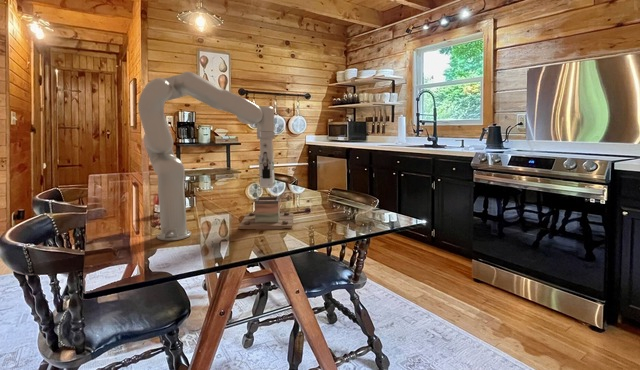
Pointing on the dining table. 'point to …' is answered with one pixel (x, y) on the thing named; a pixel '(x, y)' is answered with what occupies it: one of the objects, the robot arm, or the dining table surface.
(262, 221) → the metal block on plate
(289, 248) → the dining table surface
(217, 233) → the dining table surface
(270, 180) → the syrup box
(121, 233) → the dining table surface
